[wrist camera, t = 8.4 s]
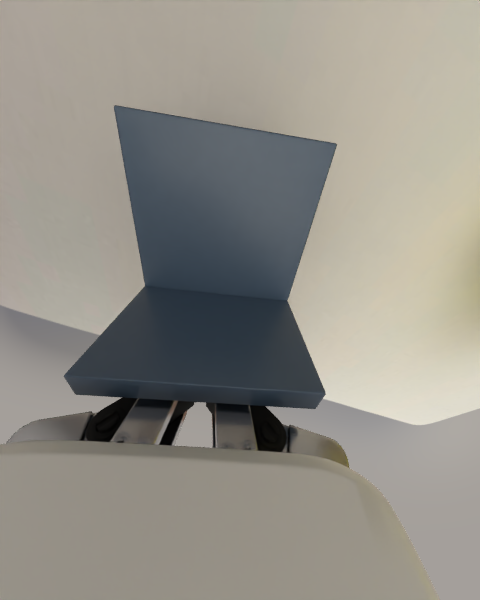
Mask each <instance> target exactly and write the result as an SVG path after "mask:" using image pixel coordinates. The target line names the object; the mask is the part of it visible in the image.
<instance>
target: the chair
mask: <svg viewBox="0 0 480 600" xmlns="http://www.w3.org/2000/svg"><path fill="white" fill-rule="evenodd" d="M114 110H115V116H116V121H117V127H118V133H119V139H120V144H121V150H122V156H123V161H124V167H125V173H126V179H127V184H128V190H129V196H130V201H131V207H132V213H133V219H134V224H135V230H136V236H137V241H138V247H139V253H140V258H141V264H142V270H143V276H144V281H145V287H144V288H143V289H142V290H141V291H140V292H139V293H138V295H137V296H136V297H135V298H134V299H133V300H132V301H131V302H130V303H129V304H128V306H127V307H126V308H125V309H124V310H123V311H122V312H121V313H120V314H119V315H118V317H117V318H116V319H115V320H114V321H113V322H112V323H111V324H110V325H109V326H108V328H107V329H106V330H105V331H104V332H103V333H102V334H101V335H100V336H99V337H98V339H97V340H96V341H95V342H94V343H93V344H92V345H91V346H90V347H89V349H88V350H87V351H86V352H85V353H84V354H83V355H82V356H81V357H80V358H79V360H78V361H77V362H76V363H75V364H74V365H73V366H72V367H71V368H70V370H68V372H67V373H66V374H65V375H64V377H65V379H66V380H67V382H68V384H69V385H70V387H71V388H72V390H73V391H74V393H75V394H76V395H92V396H108V397H125V398H141V399H158V400H174V401H191V402H208V403H224V404H241V405H257V406H274V407H292V408H308V409H316V407H317V406H318V404H319V403H320V401H321V400H322V399H323V397H324V396H325V390H324V388H323V386H322V383H321V381H320V378H319V376H318V373H317V371H316V369H315V366H314V364H313V361H312V359H311V357H310V354H309V352H308V349H307V347H306V345H305V342H304V340H303V337H302V335H301V333H300V330H299V328H298V325H297V323H296V320H295V318H294V316H293V313H292V311H291V308H290V306H289V304H288V301H287V300H288V297H289V294H290V291H291V288H292V285H293V281H294V278H295V275H296V272H297V269H298V266H299V263H300V259H301V256H302V253H303V250H304V247H305V244H306V241H307V237H308V234H309V231H310V228H311V225H312V222H313V218H314V215H315V212H316V209H317V206H318V203H319V200H320V196H321V193H322V190H323V187H324V184H325V181H326V178H327V174H328V171H329V168H330V165H331V162H332V159H333V156H334V152H335V149H336V146H337V144H336V143H330V142H324V141H319V140H313V139H307V138H301V137H295V136H290V135H284V134H278V133H272V132H267V131H261V130H255V129H249V128H243V127H238V126H232V125H226V124H220V123H215V122H209V121H203V120H197V119H191V118H186V117H180V116H174V115H168V114H163V113H157V112H151V111H145V110H139V109H134V108H128V107H122V106H116V105H115V106H114Z"/></svg>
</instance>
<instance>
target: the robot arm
mask: <svg viewBox="0 0 480 600" xmlns="http://www.w3.org/2000/svg"><path fill="white" fill-rule="evenodd" d="M193 405H194V402H191V401H174V400H158V399H141V398H125V397H123V398H121V399H119V400H118V401H116V402H114V403H112V404H111V405H109V406H107V407H106V408H104V409H102V410H101V411H100V412H98V413H92V412H85V413H79V414H73V415H66V416H60V417H54V418H47V419H41V420H37V421H33V422H31V423H29V424H27V425H25V426H23V427H22V428H20V429H19V430H18V431H17V432H15V433H14V434H13V435H12V436H11V438H10V439H9V440H8V441H7V443H6V444H1V445H0V600H440V599H439V597H438V595H437V593H436V590H435V588H434V586H433V584H432V582H431V580H430V578H429V576H428V574H427V572H426V570H425V568H424V566H423V564H422V562H421V560H420V558H419V556H418V554H417V552H416V550H415V549H414V546H413V544H412V542H411V540H410V539H409V537H408V535H407V533H406V531H405V529H404V527H403V526H402V524H401V522H400V520H399V518H398V517H397V515H396V513H395V512H394V510H393V508H392V507H391V505H390V504H389V502H388V501H387V499H386V498H385V497H384V496H383V494H382V493H381V492H380V491H379V490H378V489H377V488H376V487H375V486H374V485H373V484H372V483H371V482H370V481H368V480H367V479H365V478H364V477H363V476H361V475H360V474H358V473H357V472H355V471H353V470H352V469H350V468H349V464H348V459H347V456H346V454H345V452H344V450H343V449H342V447H341V446H340V445H339V444H338V443H337V442H336V441H335V440H333V439H331V438H328V437H326V436H322V435H320V434H316V433H313V432H311V431H307V430H304V429H301V428H298V427H295V426H292V425H289V426H286V425H283V424H282V423H281V422H280V421H279V420H278V419H277V418H276V417H275V416H274V415H273V414H272V413H271V412H270V411H269V410H268V409H267V408H266V407H265V406H257V405H241V404H224V403H208V402H206V407H208V409H209V411H210V412H211V413H212V448H205V447H187V446H174V445H175V443H176V440H177V437H178V435H179V432H180V429H181V427H182V424H183V422H184V419H185V416H186V414H187V410H188V409H189V408H190V407H192V406H193Z"/></svg>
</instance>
